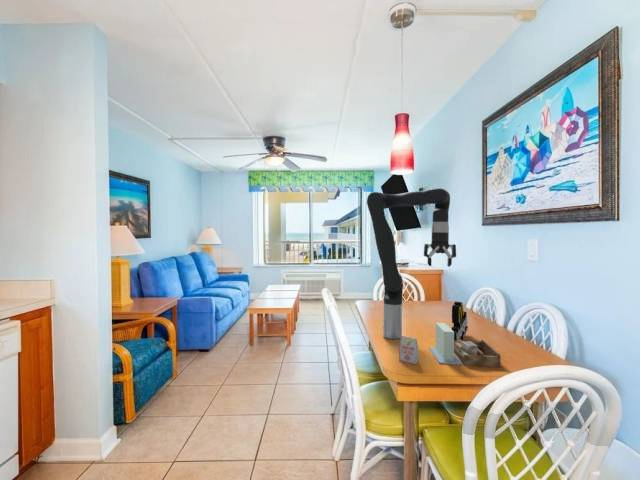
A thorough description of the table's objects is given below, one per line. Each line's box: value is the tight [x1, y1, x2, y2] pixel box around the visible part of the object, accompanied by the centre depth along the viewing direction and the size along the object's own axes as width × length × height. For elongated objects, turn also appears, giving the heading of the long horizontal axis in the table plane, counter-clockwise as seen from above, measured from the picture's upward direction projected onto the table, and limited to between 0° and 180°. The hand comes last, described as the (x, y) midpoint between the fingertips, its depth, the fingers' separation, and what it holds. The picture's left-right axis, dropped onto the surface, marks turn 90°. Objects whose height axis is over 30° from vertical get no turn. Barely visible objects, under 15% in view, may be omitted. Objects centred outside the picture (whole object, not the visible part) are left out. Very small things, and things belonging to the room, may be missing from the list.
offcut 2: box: [460, 340, 477, 354], centre depth 137 cm, size 4×6×4 cm
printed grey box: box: [398, 335, 419, 365], centre depth 136 cm, size 4×7×10 cm, turn 53°
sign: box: [451, 301, 469, 341], centre depth 164 cm, size 22×3×20 cm, turn 143°
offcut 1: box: [454, 343, 462, 354], centre depth 145 cm, size 4×7×4 cm, turn 3°
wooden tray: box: [454, 339, 501, 368], centre depth 140 cm, size 14×19×5 cm
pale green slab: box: [435, 322, 455, 361], centre depth 142 cm, size 4×14×12 cm, turn 173°
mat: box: [428, 346, 463, 366], centre depth 142 cm, size 9×18×1 cm, turn 174°
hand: (439, 266), depth 154 cm, fingers open, 8 cm apart
